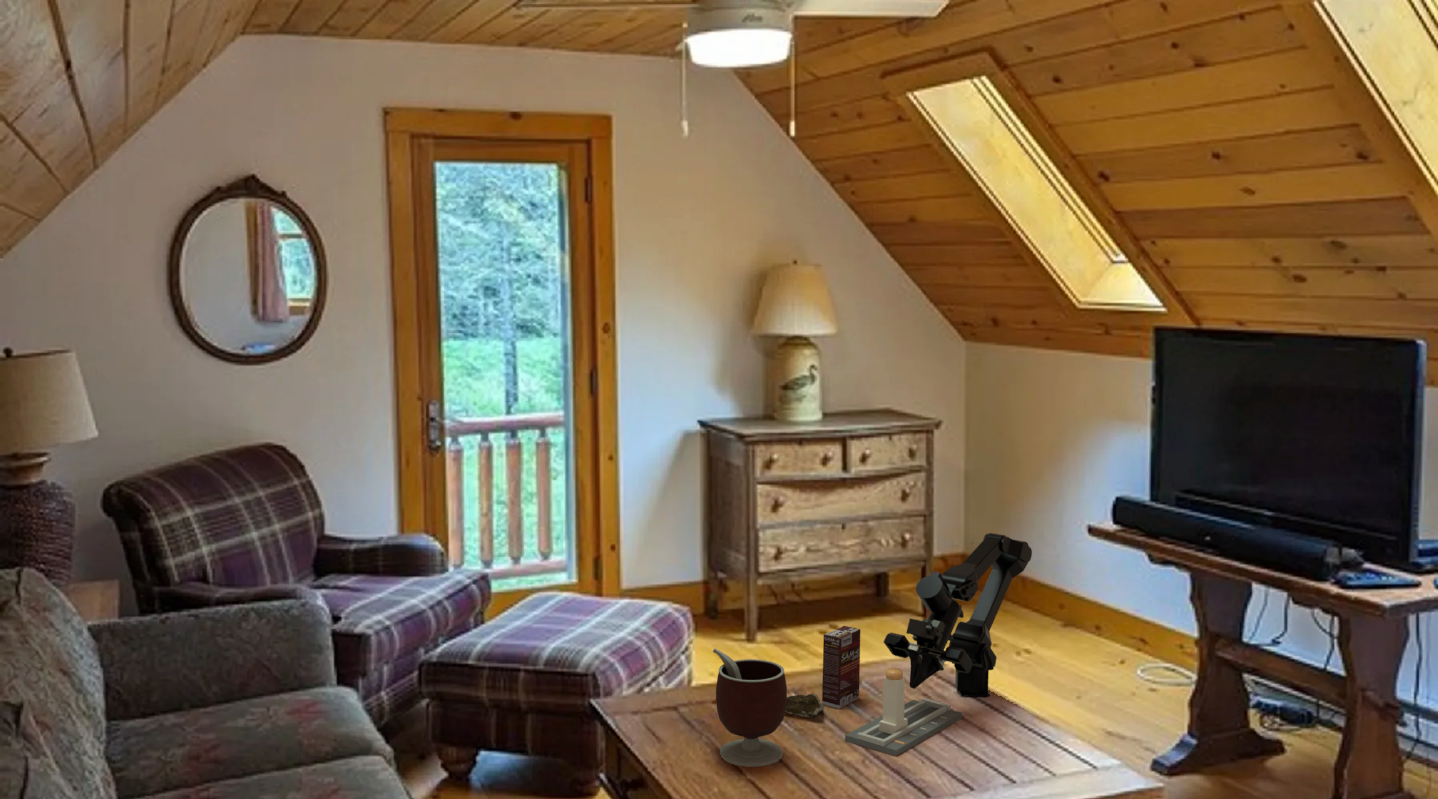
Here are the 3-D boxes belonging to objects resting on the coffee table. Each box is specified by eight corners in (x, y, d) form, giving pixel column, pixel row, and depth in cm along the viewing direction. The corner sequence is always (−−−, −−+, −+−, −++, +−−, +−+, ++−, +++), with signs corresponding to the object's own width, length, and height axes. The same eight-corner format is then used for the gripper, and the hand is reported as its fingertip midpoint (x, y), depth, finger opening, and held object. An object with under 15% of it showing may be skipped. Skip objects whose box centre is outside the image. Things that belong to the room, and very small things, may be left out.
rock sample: (836, 690, 269) (815, 672, 264) (837, 722, 264) (816, 704, 259) (795, 703, 273) (773, 686, 268) (796, 735, 268) (774, 718, 263)
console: (913, 704, 271) (913, 695, 271) (962, 718, 263) (962, 708, 263) (845, 740, 251) (845, 730, 251) (895, 756, 244) (896, 745, 243)
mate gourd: (798, 748, 247) (799, 651, 245) (765, 774, 235) (765, 672, 233) (731, 733, 255) (731, 639, 253) (695, 757, 243) (695, 658, 241)
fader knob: (892, 723, 257) (893, 665, 255) (907, 728, 254) (908, 669, 253) (879, 731, 253) (879, 672, 251) (894, 735, 251) (895, 675, 249)
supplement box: (840, 709, 268) (840, 638, 266) (821, 705, 271) (821, 634, 269) (860, 698, 275) (861, 628, 273) (842, 693, 278) (842, 624, 276)
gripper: (889, 595, 266) (859, 658, 259) (966, 611, 254) (937, 677, 247) (907, 623, 273) (879, 684, 266) (984, 640, 261) (956, 705, 254)
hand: (911, 687), depth 258 cm, fingers closed
